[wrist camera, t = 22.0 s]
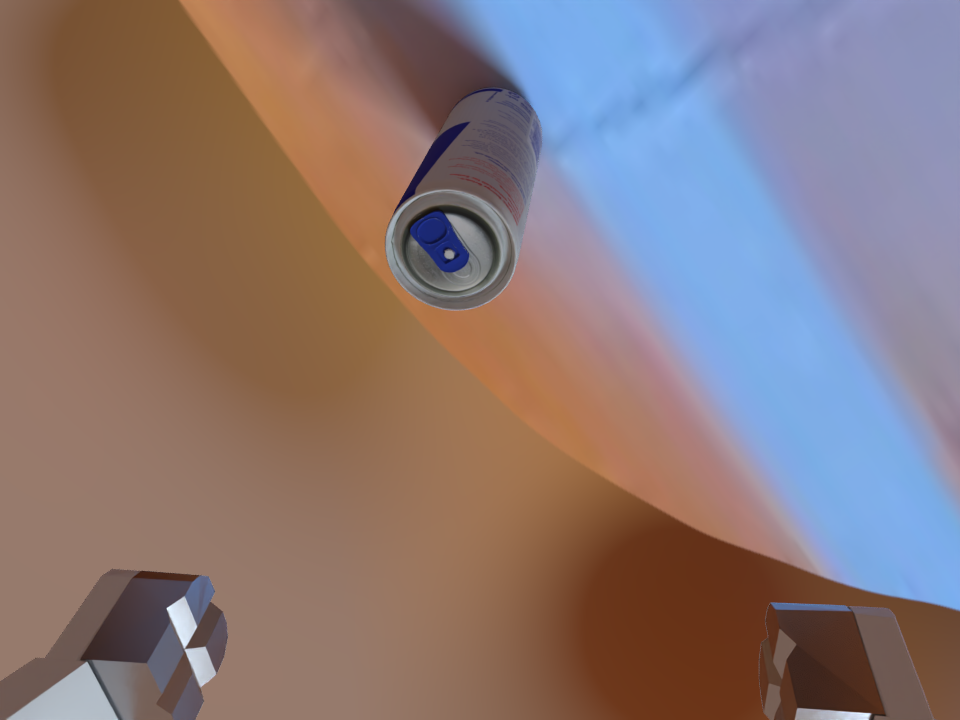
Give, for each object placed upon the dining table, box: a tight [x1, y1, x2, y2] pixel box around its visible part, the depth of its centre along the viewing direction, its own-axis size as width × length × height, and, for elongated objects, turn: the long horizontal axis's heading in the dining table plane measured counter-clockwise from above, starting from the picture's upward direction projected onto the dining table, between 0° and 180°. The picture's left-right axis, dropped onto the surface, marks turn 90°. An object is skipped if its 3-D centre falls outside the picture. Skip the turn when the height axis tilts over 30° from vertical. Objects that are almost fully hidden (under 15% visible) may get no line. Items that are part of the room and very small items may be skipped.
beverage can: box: [385, 87, 542, 310], centre depth 36 cm, size 5×5×15 cm
